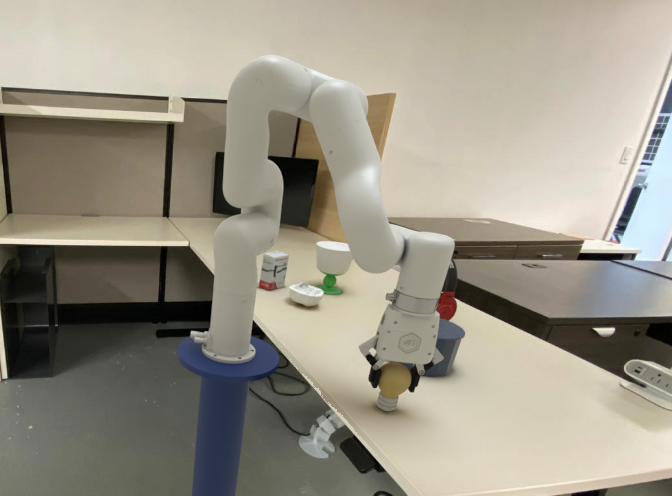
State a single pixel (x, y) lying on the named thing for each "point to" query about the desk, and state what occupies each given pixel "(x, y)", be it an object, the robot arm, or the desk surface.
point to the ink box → (273, 270)
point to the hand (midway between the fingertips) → (391, 386)
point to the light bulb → (392, 384)
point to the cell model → (305, 294)
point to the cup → (332, 263)
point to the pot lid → (449, 331)
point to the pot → (444, 366)
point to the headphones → (448, 294)
